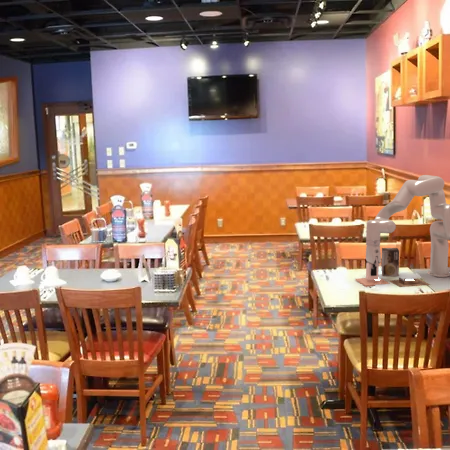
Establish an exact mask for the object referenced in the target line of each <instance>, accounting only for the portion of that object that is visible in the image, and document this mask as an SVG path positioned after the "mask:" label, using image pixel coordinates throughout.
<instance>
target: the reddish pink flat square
mask: <svg viewBox="0 0 450 450" xmlns="http://www.w3.org/2000/svg"><path fill="white" fill-rule="evenodd" d="M354 280H355V281H356V282H357V283H359V284H360V285H362V286H364V287H365V288H369V287H376V286H377V285H389V284H390V283H391V282H389V281H386V280H385V279H383V278H381V280H380V281H375V280H368V279H366V277H362V278H361V277H360V278H359V277H358V278H355V279H354Z"/></svg>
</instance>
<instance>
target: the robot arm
mask: <svg viewBox="0 0 450 450" xmlns="http://www.w3.org/2000/svg"><path fill="white" fill-rule="evenodd" d="M444 188H445V180H444V179H443V177H441V176H438V175H437V176H436V175H430V174H423V175H419V177H418V179H417V180H416V179H407V180H406V181H404V182H403V184H402V186H401V187H400V189H399V190H398V191H397V193H396V195H395V196H394V197H393V199H392V201H390V202H388V203H387V204H386V205H385V206H384V207H382V208H381V209H380V210H379V211H378V213H377V214H376V216H375V218H374V219H369V220H367V222H366V227H365V228H366V229H365V230H366V233H365V234H366V235H365V240H366V241H365V246H366V247H365V260H366V263H372V269H371V276H376V275H377V266H379V267H380V264H382V251H381V234H392V233H393V232H394V231H395V230H396V228H397V225H396V223H395V222H394V221H393V220H391V219H390V218H391V217H392V216H393V215H395V214H396V213H400V212H403V211H405V210H406V209H407V208H408V206H410V204H411V202H412V201H413V198H414V197H415V196H416V197H425V196H428V198H429V207H430V214H431V217H432V218H433V219H435V221H433V222H432V223H431V224H430V227H429V233H430V235H429V236H430V261H429V262H430V264H429V265H430V267H429V270H428V271H426V274H427V275H429V276H433V277H435V278H448V277H450V266H449V267H448V265H449V262H448V261H449V241H450V204H448V203H447V200H446V194H445V190H444ZM374 262H375V263H374ZM378 263H379V264H378ZM374 264H375V265H374ZM373 265H374V266H373Z"/></svg>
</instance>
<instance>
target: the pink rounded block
mask: <svg viewBox="0 0 450 450" xmlns="http://www.w3.org/2000/svg"><path fill="white" fill-rule="evenodd" d="M374 263H375V262H374ZM378 264H379V266H377V275H376V276H371V269H372V263H368V262H366V264H365V266H366V267H365V278H366V279H368V280H374V279H378V277H379V272H380V271H379V267H380V263H378ZM374 265H375V264H374ZM374 265H373V266H374Z"/></svg>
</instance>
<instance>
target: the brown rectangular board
mask: <svg viewBox="0 0 450 450" xmlns="http://www.w3.org/2000/svg"><path fill="white" fill-rule="evenodd" d="M405 279H406V278H401V277H398V279H394V280H393V279H391V280H388V283H391V284H393V285H395V286H397V287H399V288H410V287H419V286H420V287H421V286H431V284H430V283H428V282H426V281H424V280H422V279H419V278H418V277H417V278H414V280H415V281H405Z"/></svg>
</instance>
